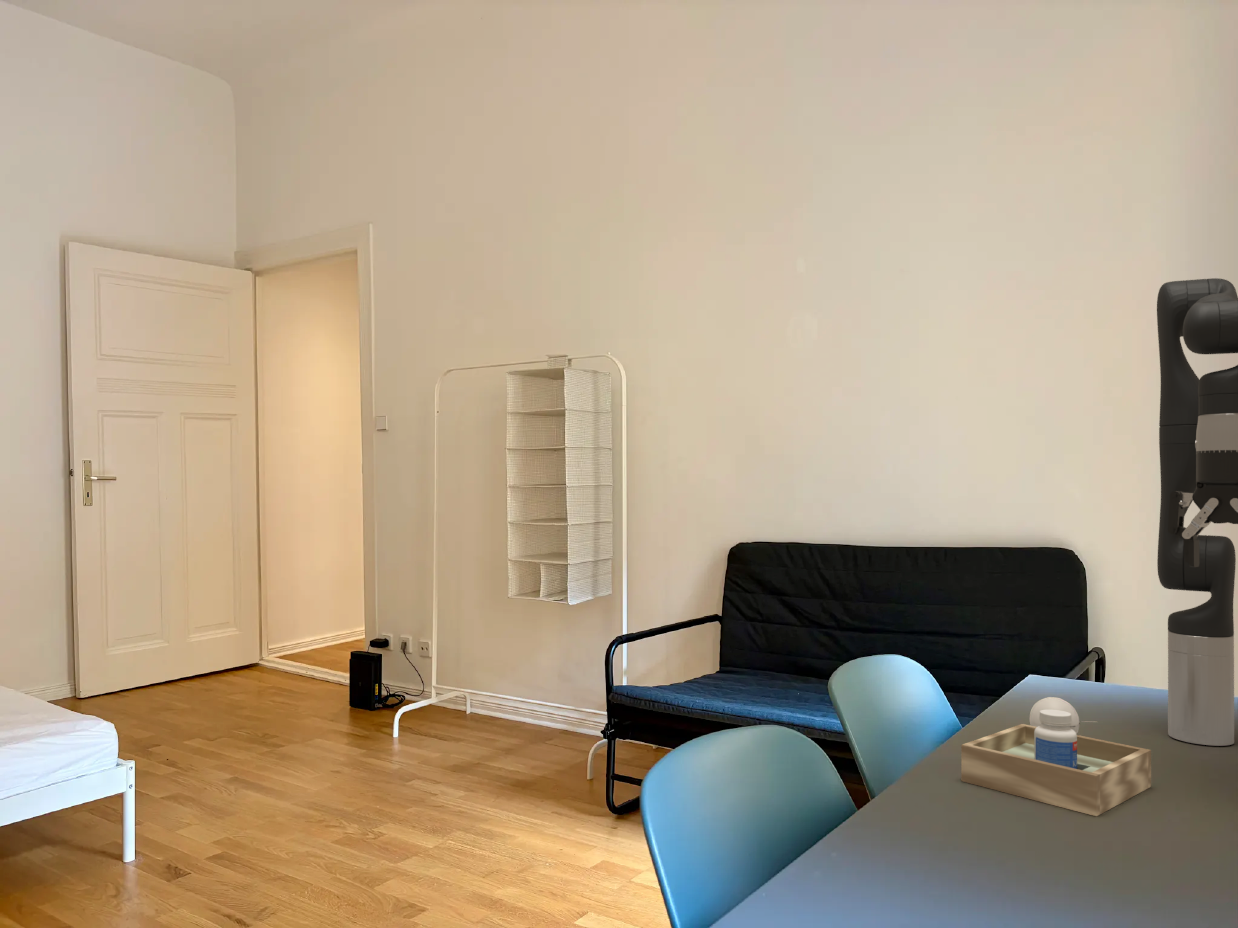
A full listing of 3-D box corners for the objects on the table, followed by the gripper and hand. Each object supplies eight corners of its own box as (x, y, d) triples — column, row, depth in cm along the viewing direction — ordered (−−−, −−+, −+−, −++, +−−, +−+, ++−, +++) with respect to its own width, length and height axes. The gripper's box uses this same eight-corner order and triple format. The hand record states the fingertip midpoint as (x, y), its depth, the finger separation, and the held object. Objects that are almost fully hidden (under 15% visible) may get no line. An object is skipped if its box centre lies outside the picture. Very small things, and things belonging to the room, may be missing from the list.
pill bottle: (1082, 791, 126) (1082, 718, 127) (1039, 788, 127) (1039, 716, 128) (1071, 778, 132) (1071, 708, 132) (1030, 776, 133) (1030, 706, 133)
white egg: (1029, 747, 148) (1029, 700, 148) (1028, 735, 155) (1028, 690, 155) (1101, 754, 144) (1100, 706, 144) (1096, 742, 151) (1096, 696, 151)
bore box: (1022, 756, 142) (1022, 723, 142) (1151, 786, 129) (1151, 749, 129) (961, 780, 130) (961, 744, 130) (1096, 816, 117) (1096, 775, 117)
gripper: (1299, 448, 124) (1300, 571, 124) (1180, 450, 135) (1180, 563, 134) (1283, 446, 119) (1284, 574, 119) (1160, 449, 130) (1161, 566, 130)
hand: (1229, 568), depth 127 cm, fingers open, 8 cm apart
